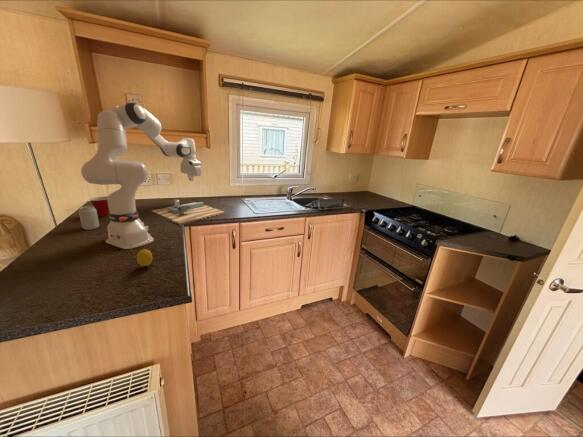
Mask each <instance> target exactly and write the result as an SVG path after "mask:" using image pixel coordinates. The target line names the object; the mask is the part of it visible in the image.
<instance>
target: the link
mask: <svg viewBox="0 0 583 437" xmlns="http://www.w3.org/2000/svg"><path fill="white" fill-rule="evenodd" d="M192 203H193V204H189V203H187V204H188V205H184V204H180V207H182V205H183V206H190V209H192V208H196V207H201V206H204V205H205V203H204V202H203V201H200V202H196V203H194V202H192ZM167 208H168V211H170V212H173V213H179V210H178V208H177V209H176V208H175V205H172V206H167ZM185 211H188V210H183V212H185Z"/></svg>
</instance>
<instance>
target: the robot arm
mask: <svg viewBox="0 0 583 437" xmlns="http://www.w3.org/2000/svg"><path fill="white" fill-rule="evenodd" d="M96 121H97V122H96V130H97V140H98V145H97V146H98V147H97V151H96V153H95V155H94V156H93V157H92V158H91V159H89V160H88V161H86V162H85V163H83V165H82V167H81V176H82V178H83V179H84V180H85V181H86V182H87V183H88V184H92V185H100V186H101V185H103V186H105V185H106V186H107V185H108V186H109V185H120V186H121V187H120V188H119V189H117V190H115V191H113V192H111V193H109V194H108V198H107V201H108V206H109V216H108V218H109V223H108V224H107V227H106V228H107V236H108V238H107V239H105V243H106V244H108V245H111V246H115V247H117V248H120V249H123V250H128V249H135V248H138V247H139V248H140V247H142V246H146V245H148V244H151V243H152V242H154V241H155V239H154V237H152V235H151V234H150V233H149V232H148V231H149V226H148V225H145V223H144V221H142V220H141V218H140V216H139V212H138V209H137V207H136V206H137V205H136V194H137V191H138V190H139V187H140V186H141V185H142V184H143V183H145V182H146V181H147V180H148V178H149V170H148V168H147V166H146V165H145V164H144V163H143V162H139V161H134V160H115V159H116V158H117V157H121V156H122V155H124V154H126V153H127V151H128V142H127V133H126V130H129V129H133V128H135V127H137V128H138V129H139V130H140V131H141V132H142V133H144V134H145V135H146V136H147V137H148V138H149V140H151V141H152V142H153V143H154V144H155V145H156V146H157V147H158V148H159V149H160V150H161V153H162V154H163V156H165V157H175V158H182V160H181V162H180V173H181V174H186V175H187V177H188V181H190V182H194V178H195V177H200V176H202V167H201V165H202V162H201V161H200V160H198V159H197V155H196V152H197V148H196V143H195V142H196V141H195V140H194V138H190V137H187V136H186V137H182V139H181V140H179V141H177V142H174V141H169V142H168V140H166V139H165V138H164V137H163V136H162V135H161V134H160V133H161V132H162V127H163V126H162V124H161V122H160V121H159V119H158V118H156V116H154V115H153V114H152V113H151V112H149V111H148V110H147V109H146V108H145V107H143V106H141V105H140V104H139V103H136V102H127V103H125V104H121V105H117V106H115V107H112V108H111V109H109V110H107V109H106V110H102V111H100V112H99V113H98V114H97V120H96Z"/></svg>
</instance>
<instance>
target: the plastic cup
mask: <svg viewBox="0 0 583 437" xmlns="http://www.w3.org/2000/svg"><path fill="white" fill-rule="evenodd" d="M108 196H109V195H108ZM108 196H105V195H104V196H97V197H91V198H89V199H88V200H89V201H90V203H91V204H92V206H94V208H95V209H96V211H97V216H98V218H107V217H108V218H109V206H108V201H107V198H108Z"/></svg>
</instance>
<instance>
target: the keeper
mask: <svg viewBox="0 0 583 437" xmlns="http://www.w3.org/2000/svg"><path fill="white" fill-rule="evenodd" d="M187 209H190V206H182V207H178V210H179V215H184V212H183V210H187Z"/></svg>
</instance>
